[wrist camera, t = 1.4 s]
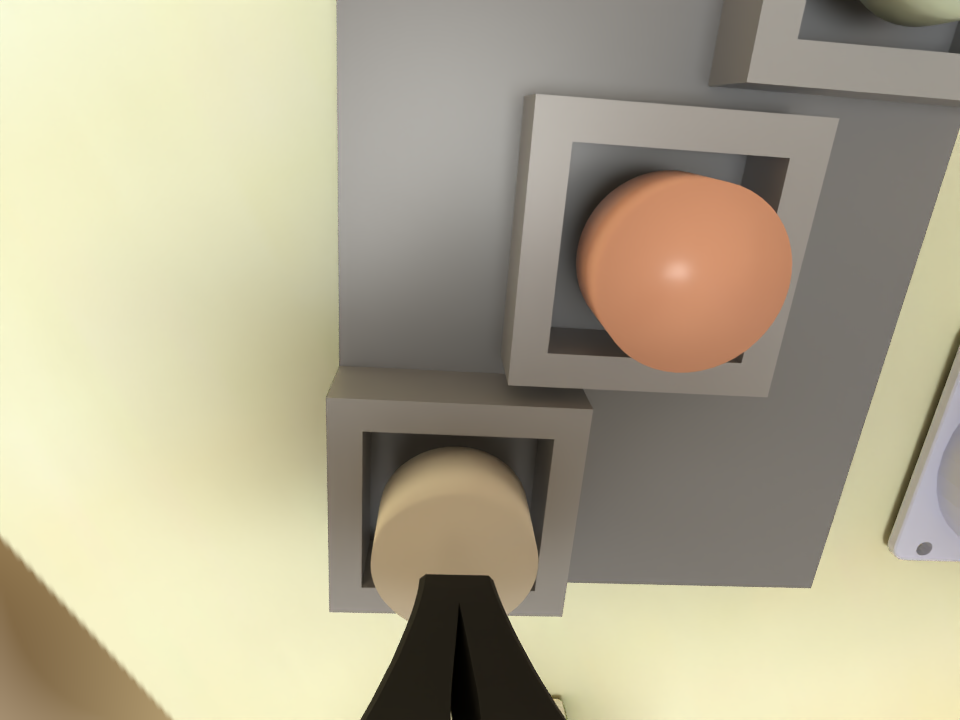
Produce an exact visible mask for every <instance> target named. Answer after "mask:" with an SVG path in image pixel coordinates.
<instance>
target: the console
mask: <svg viewBox="0 0 960 720" xmlns="http://www.w3.org/2000/svg"><path fill="white" fill-rule="evenodd" d="M337 117H338V249H339V368H338V370H337V373H336V375H335V377H334V380H333V382H332V385H331V387H330V389H329V392H328V394H327V397H326V426H327V489H328V551H329V612H352V613H395V612H394V611H393V610H392V609H391V608H390V607H389V606H388V605H387V604H386V603H385V602H384V601H383V599H382V598H381V597H380V595H379V593H378V592H377V590H376V587H375V585H374V582H373V579H372V574H371V554H372V548H373V542H374V536H375V530H376V524H377V518H378V512H379V506H380V501H381V497H382V493H383V490H384V488H385V486H386V484H387V482H388V481H389V479H390V477H391V476H392V475H393V474H394V473H395V471H396V470H397V469H398V468H399V467H400V466H402V465H403V464H404V463H405V462H407V461H408V460H410V459H411V458H413V457H415V456H417V455H419V454H421V453H424V452H426V451H429V450H433V449H437V448H443V447H468V448H473V449H477V450H481V451H483V452H486V453H489V454H491V455H493V456H495V457H496V458H498V459H500V460H501V461H503V462H504V463H505V464H506V465H507V466H508V467H510V468H511V469H512V471H513V472H514V473H515V474H516V475H517V477H518V479H519V480H520V482H521V484H522V486H523V488H524V491H525V495H526V498H527V503H528V508H529V512H530V517H531V522H532V527H533V531H534V536H535V541H536V546H537V550H538V571H537V576H536V579H535V581H534V584H533V586H532V588H531V590H530V592H529V594H528V595H527V596H526V598H525V599H524V600H523V601H522V602H521V603H520V604H519V605H518V607H517V608H515V609H514V610H513V611H512V612H510V613H509V614H508V616H559V617H562V613H563V606H564V600H565V593H566V587H567V582H571V583H614V584H657V585H700V586H743V587H786V588H811V586H812V583H813V580H814V577H815V574H816V571H817V567H818V564H819V561H820V558H821V555H822V552H823V549H824V546H825V543H826V540H827V537H828V533H829V530H830V527H831V524H832V521H833V518H834V515H835V512H836V509H837V506H838V503H839V499H840V496H841V493H842V490H843V487H844V484H845V481H846V478H847V475H848V472H849V469H850V465H851V462H852V459H853V456H854V453H855V450H856V447H857V444H858V441H859V438H860V435H861V431H862V428H863V425H864V422H865V419H866V416H867V413H868V410H869V407H870V404H871V400H872V397H873V394H874V391H875V388H876V385H877V382H878V379H879V376H880V373H881V370H882V366H883V363H884V360H885V357H886V354H887V351H888V348H889V345H890V342H891V339H892V336H893V332H894V329H895V326H896V323H897V320H898V317H899V314H900V311H901V308H902V305H903V302H904V298H905V295H906V292H907V289H908V286H909V283H910V280H911V277H912V274H913V271H914V268H915V264H916V261H917V258H918V255H919V252H920V249H921V246H922V243H923V240H924V237H925V234H926V230H927V227H928V224H929V221H930V218H931V215H932V212H933V209H934V206H935V203H936V200H937V196H938V193H939V190H940V187H941V184H942V181H943V178H944V175H945V172H946V169H947V166H948V162H949V159H950V156H951V153H952V150H953V147H954V144H955V141H956V138H957V135H958V132H959V128H960V21H955V22H949V23H943V24H938V25H932V26H925V27H906V26H900V25H896V24H893V23H890V22H887V21H885V20H883V19H881V18H879V17H878V16H876V15H875V14H873V13H872V12H871V11H870V10H868V9H867V8H866V7H865V6H864V4H863V3H862V2H861V1H860V0H337ZM662 170H677V171H684V172H689V173H693V174H698V175H702V176H706V177H710V178H714V179H718V180H722V181H726V182H730V183H733V184H737V185H740V186H742V187H744V188H746V189H749V190H751V191H752V192H754V193H755V194H757V195H758V196H760V197H761V198H763V199H764V200H765V201H766V202H767V203H768V204H769V205H770V206H771V207H772V208H773V210H774V211H775V212H776V213H777V215H778V216H779V218H780V220H781V221H782V223H783V225H784V227H785V229H786V232H787V235H788V237H789V241H790V246H791V252H792V275H791V281H790V286H789V290H788V293H787V296H786V299H785V301H784V304H783V306H782V308H781V310H780V312H779V314H778V315H777V317H776V319H775V320H774V322H773V323H772V325H771V326H770V327H769V329H768V330H767V331H766V333H765V334H764V335H763V336H762V337H761V338H760V339H759V340H758V341H757V342H756V343H755V344H753V345H752V346H751V347H750V348H749V349H747V350H746V351H745V352H743V353H742V354H740V355H739V356H737V357H736V358H734V359H732V360H730V361H728V362H726V363H724V364H721V365H719V366H716V367H714V368H710V369H706V370H702V371H697V372H689V373H674V372H666V371H661V370H657V369H653V368H651V367H648V366H646V365H643V364H641V363H639V362H638V361H636V360H634V359H633V358H631V357H630V356H629V355H627V354H626V353H625V352H624V351H623V350H622V349H621V348H620V347H619V346H618V345H617V344H616V343H615V342H614V340H613V339H612V338H611V336H610V335H609V334H608V332H607V331H606V330H605V328H604V327H603V326H602V324H601V323H600V321H599V320H598V319H597V317H596V316H595V315H594V313H593V312H592V311H591V309H590V308H589V306H588V305H587V303H586V302H585V300H584V298H583V296H582V293H581V291H580V288H579V284H578V280H577V274H576V253H577V248H578V243H579V239H580V236H581V233H582V231H583V228H584V226H585V224H586V222H587V220H588V219H589V217H590V215H591V214H592V212H593V211H594V209H595V208H596V207H597V206H598V204H599V203H600V202H601V201H602V200H603V199H604V198H605V197H606V196H607V195H608V194H609V193H610V192H612V191H613V190H614V189H616V188H617V187H618V186H620V185H621V184H623V183H625V182H627V181H628V180H630V179H632V178H635V177H637V176H640V175H643V174H646V173H650V172H655V171H662Z"/></svg>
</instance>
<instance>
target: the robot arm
mask: <svg viewBox="0 0 960 720" xmlns="http://www.w3.org/2000/svg"><path fill="white" fill-rule="evenodd" d="M920 544H921V545H920ZM919 545H920V546H919ZM888 548H889V550H890V551H891V552H892V553H893V554H894V555H895V556H896V557H897V558H898V559H902V560H924V561H960V346H959V349H958V352H957V354H956V357H955V360H954V363H953V365H952V368H951V371H950V374H949V376H948V379H947V382H946V384H945V387H944V390H943V393H942V395H941V398H940V401H939V404H938V406H937V409H936V412H935V415H934V417H933V420H932V423H931V425H930V428H929V431H928V434H927V436H926V439H925V442H924V445H923V447H922V450H921V453H920V456H919V458H918V461H917V464H916V466H915V469H914V472H913V475H912V477H911V480H910V483H909V486H908V488H907V491H906V494H905V497H904V499H903V502H902V505H901V507H900V510H899V513H898V516H897V518H896V521H895V524H894V527H893V529H892V532H891V535H890V538H889V540H888ZM451 717H452V720H566V718H565V717H564V715H563V714H562V712H561V711H560V709H559V708H558V706H557V705H556V703H555V702H554V700H553V698H552V697H551V695H550V694H549V692H548V690H547V689H546V687H545V686H544V684H543V682H542V681H541V679H540V677H539V676H538V674H537V672H536V670H535V669H534V667H533V665H532V663H531V662H530V660H529V658H528V656H527V654H526V652H525V650H524V649H523V647H522V645H521V643H520V641H519V639H518V637H517V635H516V633H515V631H514V629H513V627H512V625H511V623H510V621H509V618H508V616H507V614H506V612H505V610H504V607H503V605H502V602H501V600H500V597H499V595H498V592H497V589H496V586H495V583H494V580H493V579H492V578H491V577H490V576H489V575H446V574H425V575H424V576H422V577H421V578H420V579H419V586H418V591H417V595H416V599H415V603H414V606H413V609H412V612H411V615H410V618H409V621H408V623H407V626H406V629H405V631H404V633H403V636H402V638H401V640H400V643H399V645H398V647H397V650H396V652H395V654H394V657H393V659H392V661H391V663H390V665H389V667H388V669H387V671H386V673H385V675H384V677H383V679H382V681H381V683H380V685H379V687H378V689H377V691H376V693H375V695H374V697H373V698H372V700H371V702H370V704H369V706H368V707H367V709H366V711H365V713H364V714H363V716H362V718H361V720H451Z"/></svg>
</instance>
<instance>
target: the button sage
mask: <svg viewBox="0 0 960 720" xmlns="http://www.w3.org/2000/svg"><path fill="white" fill-rule="evenodd" d="M860 1H861V2H862V3H863V4H864V6H865V7H866V8H867V9H868V10H870V11H871V12H872V13H873V14H875V15H876V16H878V17H879V18H881V19H883V20H885V21H887V22H890V23H893V24H896V25H900V26H906V27H925V26H932V25H938V24H943V23H949V22H955V21H960V0H860Z"/></svg>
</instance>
